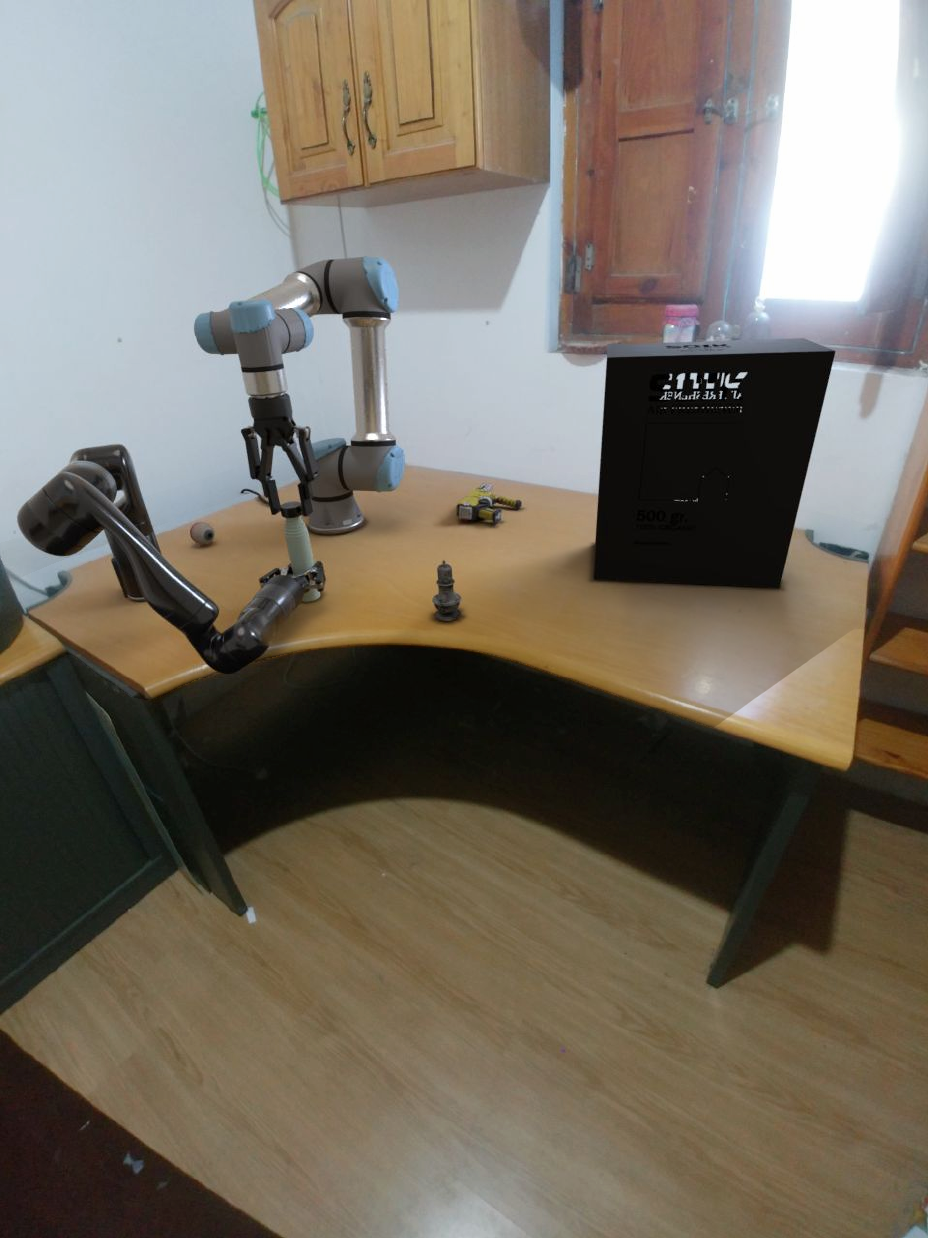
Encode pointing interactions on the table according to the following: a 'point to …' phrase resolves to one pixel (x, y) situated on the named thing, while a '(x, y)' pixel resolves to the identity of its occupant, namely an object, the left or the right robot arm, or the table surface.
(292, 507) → the cap
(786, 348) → the cardboard box
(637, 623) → the table surface
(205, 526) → the eyeball
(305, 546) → the bottle
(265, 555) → the table surface
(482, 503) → the toy gun
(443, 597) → the salt shaker
